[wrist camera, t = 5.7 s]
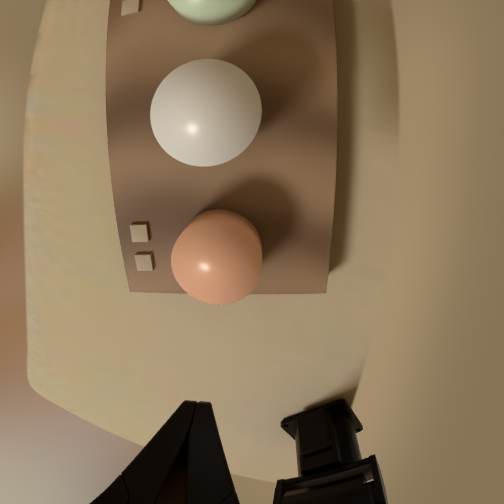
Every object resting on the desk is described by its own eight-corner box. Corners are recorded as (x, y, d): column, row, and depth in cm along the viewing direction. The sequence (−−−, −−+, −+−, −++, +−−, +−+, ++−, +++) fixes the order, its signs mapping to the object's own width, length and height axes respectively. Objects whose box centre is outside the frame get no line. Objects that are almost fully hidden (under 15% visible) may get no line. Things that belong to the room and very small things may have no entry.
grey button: (261, 159, 13) (262, 165, 12) (167, 163, 13) (153, 169, 12) (260, 66, 12) (261, 56, 10) (163, 73, 12) (149, 65, 10)
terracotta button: (262, 285, 17) (262, 304, 15) (185, 284, 17) (176, 303, 15) (261, 208, 15) (262, 220, 14) (176, 210, 15) (166, 222, 14)
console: (321, 281, 19) (326, 294, 17) (137, 280, 19) (129, 293, 18) (323, -33, 11) (328, -46, 10) (123, -18, 11) (112, -28, 10)
